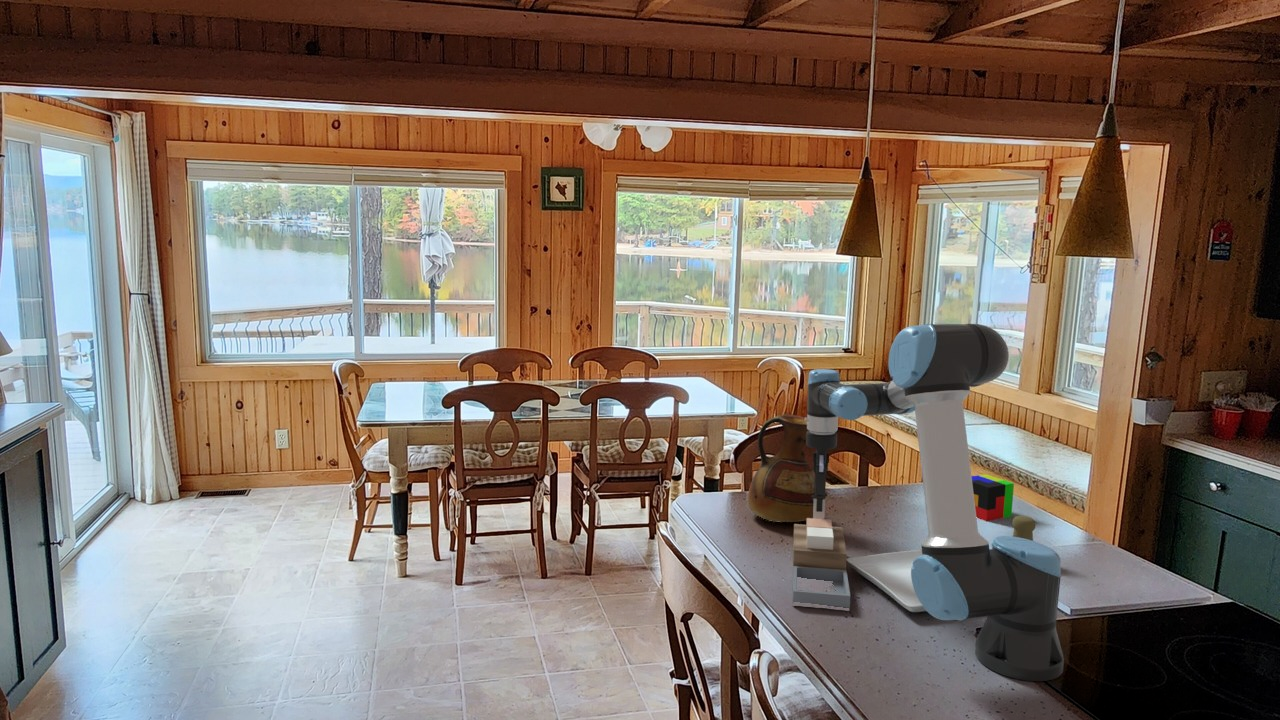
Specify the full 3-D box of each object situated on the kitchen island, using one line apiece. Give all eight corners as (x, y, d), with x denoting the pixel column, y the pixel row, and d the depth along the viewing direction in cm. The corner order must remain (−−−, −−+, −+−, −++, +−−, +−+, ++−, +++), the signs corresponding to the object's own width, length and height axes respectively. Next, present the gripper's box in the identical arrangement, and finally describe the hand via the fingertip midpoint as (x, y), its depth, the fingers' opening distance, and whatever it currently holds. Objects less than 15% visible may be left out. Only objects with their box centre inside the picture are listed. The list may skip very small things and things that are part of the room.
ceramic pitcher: (820, 532, 220) (824, 425, 216) (745, 527, 223) (748, 421, 219) (817, 509, 239) (821, 410, 235) (748, 505, 242) (751, 407, 238)
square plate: (908, 623, 169) (909, 605, 168) (842, 571, 195) (843, 556, 194) (1017, 608, 176) (1019, 591, 175) (940, 560, 202) (940, 545, 201)
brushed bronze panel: (845, 582, 188) (846, 553, 187) (792, 578, 190) (793, 550, 189) (841, 553, 205) (842, 527, 204) (793, 550, 207) (794, 523, 206)
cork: (1037, 565, 198) (1040, 522, 197) (1011, 563, 199) (1014, 520, 198) (1030, 555, 204) (1034, 514, 203) (1005, 554, 205) (1008, 512, 204)
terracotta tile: (831, 539, 195) (832, 527, 195) (806, 538, 196) (806, 526, 196) (830, 531, 201) (831, 519, 201) (806, 529, 202) (806, 518, 202)
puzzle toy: (959, 510, 238) (961, 478, 237) (983, 506, 243) (985, 474, 241) (986, 521, 229) (988, 487, 228) (1011, 516, 234) (1013, 483, 232)
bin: (849, 611, 173) (850, 595, 172) (792, 606, 175) (793, 591, 175) (845, 584, 187) (846, 570, 186) (792, 580, 189) (793, 566, 188)
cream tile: (833, 549, 189) (833, 537, 189) (806, 547, 190) (807, 535, 190) (831, 540, 195) (832, 528, 194) (806, 538, 196) (806, 526, 196)
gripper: (806, 425, 208) (803, 513, 212) (806, 436, 196) (803, 530, 199) (836, 426, 207) (832, 514, 210) (838, 438, 194) (834, 532, 198)
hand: (818, 522), depth 205 cm, fingers closed
